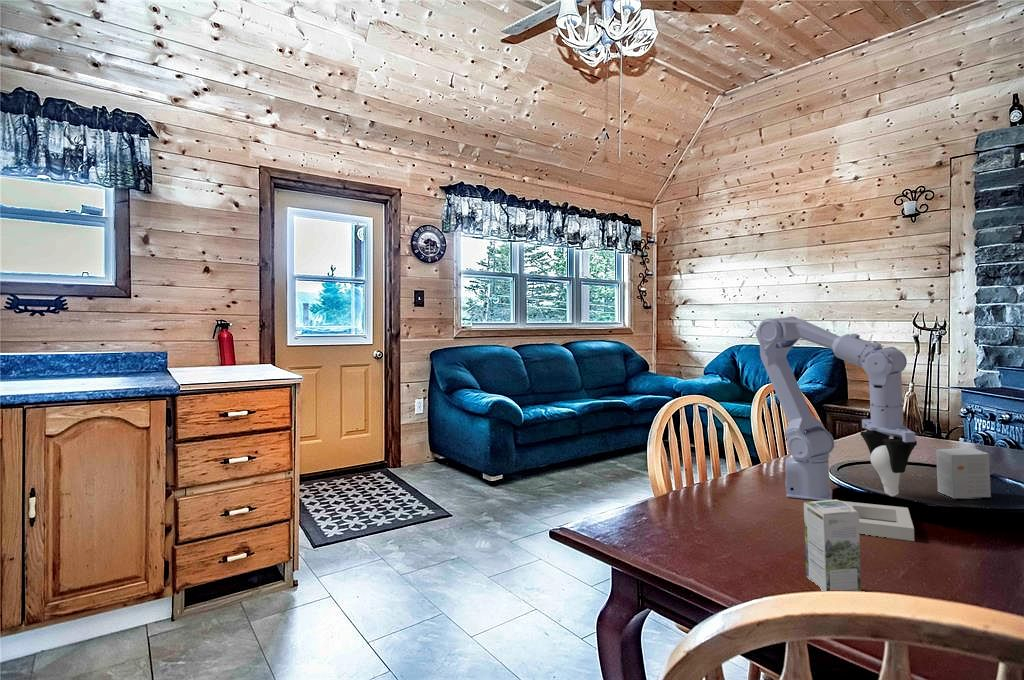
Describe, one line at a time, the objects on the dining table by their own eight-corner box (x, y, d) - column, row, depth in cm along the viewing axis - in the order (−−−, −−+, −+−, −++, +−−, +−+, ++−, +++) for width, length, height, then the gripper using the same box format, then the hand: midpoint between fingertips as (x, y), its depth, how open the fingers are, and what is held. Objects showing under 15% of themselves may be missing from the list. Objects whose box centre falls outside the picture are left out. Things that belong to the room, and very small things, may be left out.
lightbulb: (908, 502, 114) (901, 450, 113) (873, 499, 117) (866, 449, 117) (910, 492, 118) (904, 442, 118) (876, 489, 122) (870, 441, 122)
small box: (973, 491, 129) (971, 447, 128) (991, 499, 123) (990, 453, 123) (936, 492, 130) (935, 448, 129) (953, 500, 124) (951, 454, 124)
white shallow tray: (841, 532, 112) (840, 520, 111) (841, 512, 122) (841, 501, 122) (914, 541, 105) (913, 528, 105) (908, 519, 116) (907, 507, 115)
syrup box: (839, 582, 92) (835, 497, 91) (863, 600, 86) (859, 509, 86) (805, 585, 92) (801, 500, 91) (827, 604, 86) (823, 512, 85)
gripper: (847, 400, 124) (849, 460, 125) (889, 412, 110) (891, 479, 110) (879, 398, 124) (881, 458, 125) (925, 409, 110) (927, 477, 110)
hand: (888, 468), depth 118 cm, fingers closed on lightbulb, 6 cm apart
